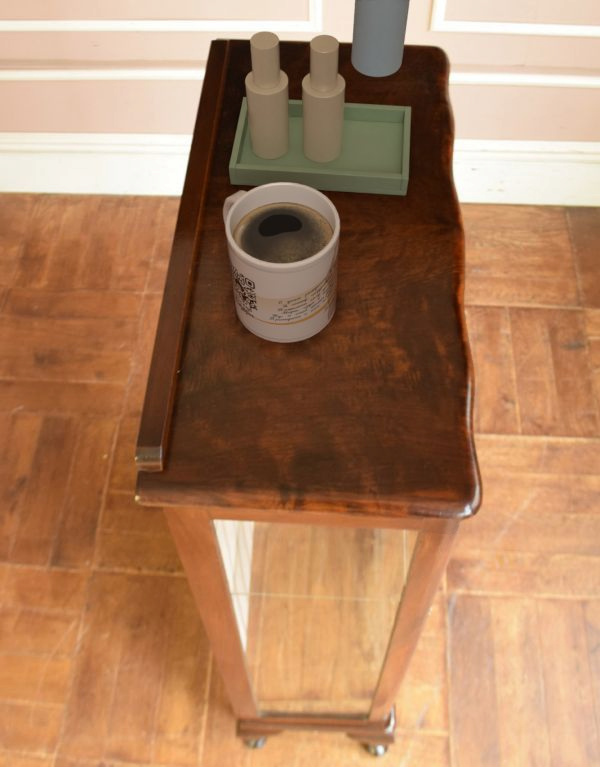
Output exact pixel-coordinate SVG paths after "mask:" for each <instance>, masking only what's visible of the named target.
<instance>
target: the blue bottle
mask: <svg viewBox="0 0 600 767" xmlns="http://www.w3.org/2000/svg"><path fill="white" fill-rule="evenodd" d="M410 1H411V0H354V10H353V26H352V27H353V28H352V40H351V42H352V43H351V56H350V57H351V58H350V62H351V64H352V66H353V68H354V70H356V71H357V72H359V73H360V74H362V75H365V76H368V77H371V78H372V77H373V78H382V77H388V76H391V75H393V74H395V73H396V72H398V71H399V69H400V68H401V66H402V63H403V56H404V49H405V41H406V32H407V24H408V16H409V8H410Z"/></svg>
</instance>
